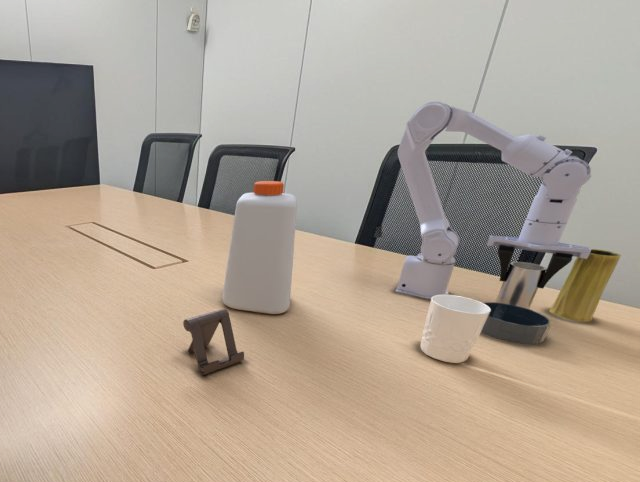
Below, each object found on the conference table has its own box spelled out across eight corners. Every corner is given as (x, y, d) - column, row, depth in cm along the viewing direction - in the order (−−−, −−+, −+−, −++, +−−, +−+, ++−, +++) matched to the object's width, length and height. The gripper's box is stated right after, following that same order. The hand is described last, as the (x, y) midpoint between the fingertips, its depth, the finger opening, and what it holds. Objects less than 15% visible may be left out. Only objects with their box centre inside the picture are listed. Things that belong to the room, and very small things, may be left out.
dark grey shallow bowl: (464, 331, 75) (471, 313, 73) (472, 314, 82) (478, 297, 80) (542, 352, 68) (551, 332, 66) (543, 331, 74) (551, 313, 73)
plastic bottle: (218, 309, 87) (228, 186, 77) (228, 286, 100) (237, 177, 89) (288, 318, 82) (308, 187, 71) (289, 293, 95) (306, 178, 84)
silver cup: (494, 304, 82) (509, 265, 79) (496, 297, 86) (511, 259, 82) (529, 312, 79) (546, 271, 75) (530, 304, 82) (546, 265, 78)
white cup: (459, 345, 70) (477, 297, 66) (480, 368, 63) (501, 316, 59) (409, 339, 73) (424, 292, 69) (424, 361, 66) (441, 310, 62)
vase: (600, 323, 76) (635, 257, 71) (564, 321, 78) (595, 256, 72) (573, 310, 82) (604, 248, 76) (540, 309, 83) (568, 247, 78)
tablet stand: (204, 377, 63) (206, 334, 60) (177, 355, 69) (178, 315, 66) (243, 363, 67) (248, 321, 63) (214, 343, 73) (217, 304, 70)
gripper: (495, 219, 77) (473, 280, 83) (603, 229, 68) (571, 298, 73) (498, 213, 82) (477, 272, 87) (600, 223, 72) (570, 288, 77)
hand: (520, 283), depth 80 cm, fingers closed on silver cup, 5 cm apart
